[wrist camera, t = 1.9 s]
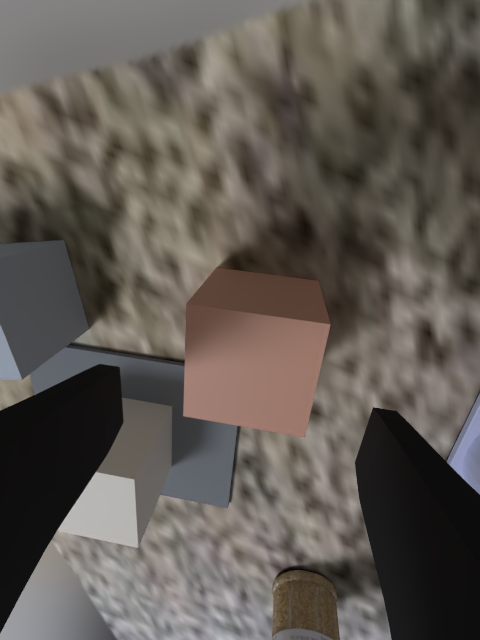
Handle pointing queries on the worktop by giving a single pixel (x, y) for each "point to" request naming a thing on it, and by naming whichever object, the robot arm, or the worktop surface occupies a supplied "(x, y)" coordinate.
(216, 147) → the worktop surface
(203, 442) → the mat
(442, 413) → the worktop surface
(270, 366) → the terracotta brick
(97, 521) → the cream brick
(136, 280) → the worktop surface
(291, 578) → the sprinkles bottle
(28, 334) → the slate brick
